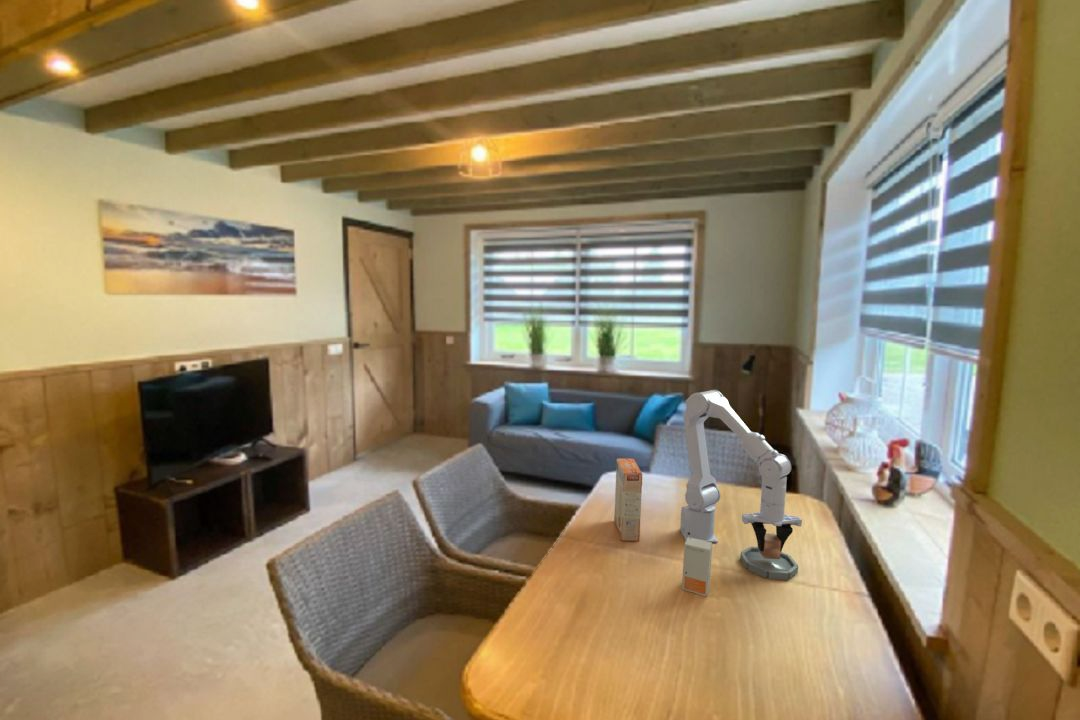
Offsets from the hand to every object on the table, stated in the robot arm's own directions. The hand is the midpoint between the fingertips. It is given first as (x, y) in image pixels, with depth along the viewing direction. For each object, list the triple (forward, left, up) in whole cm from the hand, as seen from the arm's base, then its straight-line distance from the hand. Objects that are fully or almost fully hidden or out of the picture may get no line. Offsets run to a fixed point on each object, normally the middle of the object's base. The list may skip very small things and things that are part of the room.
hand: (769, 549), depth 127 cm
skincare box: (-22, -13, -5) cm, 26 cm away
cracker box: (-36, +16, -5) cm, 40 cm away
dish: (0, 0, -4) cm, 4 cm away
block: (0, 0, -2) cm, 2 cm away
